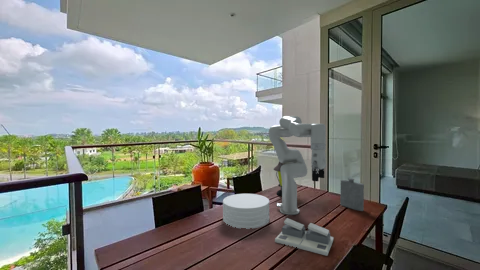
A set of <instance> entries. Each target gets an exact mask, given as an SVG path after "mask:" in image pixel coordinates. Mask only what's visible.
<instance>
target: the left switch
mask: <svg viewBox="0 0 480 270" xmlns="http://www.w3.org/2000/svg"><path fill="white" fill-rule="evenodd" d="M283 224H284V225H285V224H287V225H289V226H292V227H294V228H296V229H299V230H302V229H303V227H305V224H303V223H301V222H299V221H295V220H293V219H291V218H288V217H287V218H285V220H284V221H283Z"/></svg>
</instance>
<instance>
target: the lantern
mask: <svg viewBox="0 0 480 270" xmlns="http://www.w3.org/2000/svg"><path fill="white" fill-rule="evenodd" d="M284 164H287V163H281V162H280V161H278V163H277V165H276V166H274V168H273V171H274V172H276V174H275V175H276V178H277V180H278V184H277V186H278V187H280V189H278V190H277V191H276V193H275V194H276V196H277V195H278V196H277V197H280V196H282V177H281V171H280V169H281V166H282V165H284Z"/></svg>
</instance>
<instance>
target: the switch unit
mask: <svg viewBox="0 0 480 270" xmlns="http://www.w3.org/2000/svg"><path fill="white" fill-rule="evenodd" d="M307 229H308V228H307ZM334 238H335V237H334V236H331V232H329V233H328V235H327V236H325V235H322V234H320V233H318V232H315V231H313V230H311V229H308V230H306V227H305V226H304V227H303V229H302V230H299V229H296V228H294V227H292V226H289V225H287V224H285V223H284V225H283V226H282V227H281V232H279V234H278V235H277V236H276V237H275V238H274V243H277V244H282V245H284V244H285V246H288V245H289V246H288V247H292V246H293V248H296V247H297V248H296V249H300V250H304V251H308V252H311V253H315V254H319V255H323V256H326V257H327V256H329V252H330V250H331V247H332V245H333V243H334Z"/></svg>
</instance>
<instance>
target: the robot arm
mask: <svg viewBox="0 0 480 270" xmlns="http://www.w3.org/2000/svg"><path fill="white" fill-rule="evenodd" d="M326 130H327V128H326V124H324V123H303V121H302V119H301V117H300V116H297V115H284V116H282V117H281V118H280V119H279V123H278V125H277V124H275V125H272V126H271V127H269V128H268V138H269V141H270V142H271V144H272V145H273V148H274V151H275V153H276V156H277V159H278V160H279V161H280V162H281V163H287V164H284V165H282V166H281V169H280V171H281V177H282V197H281V203H279V202H276V207H277V208H279V212H280V213H281V214H283V215H289V216H295V215H298V214H300V209H299V208H298V184H297V182H296V180H295V179H296V178H303V177H307V174H308V168H307V164H306V162H305V160H304V157H303V155H302V153H301V151H300V150H299V149H296V148H288V146H287V145H288V144H287V143H286V142H285V141H284V140H283V139H282V138H291V137H293V136H294V137H295V138H310V151H311V157H310V158H311V163H310V164H311V166H310V167H311V180H312V181H313V182H319V179H324V178H325V168H326V167H327V159H326V158H327V157H326V150H327V146H326V145H327V143H326V142H327V141H326V140H327V138H326V137H327V136H326V135H327V134H326ZM279 161H278V162H279Z"/></svg>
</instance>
